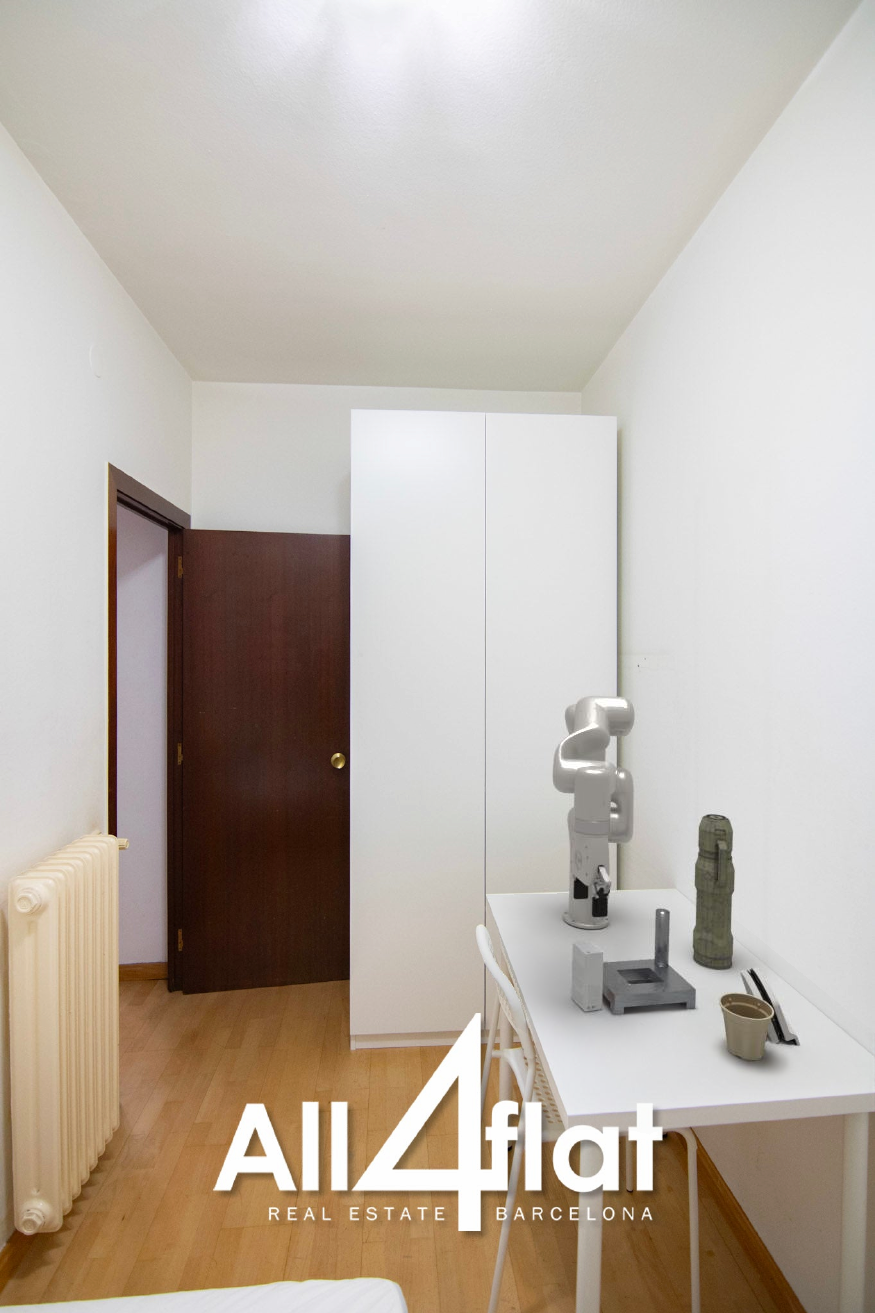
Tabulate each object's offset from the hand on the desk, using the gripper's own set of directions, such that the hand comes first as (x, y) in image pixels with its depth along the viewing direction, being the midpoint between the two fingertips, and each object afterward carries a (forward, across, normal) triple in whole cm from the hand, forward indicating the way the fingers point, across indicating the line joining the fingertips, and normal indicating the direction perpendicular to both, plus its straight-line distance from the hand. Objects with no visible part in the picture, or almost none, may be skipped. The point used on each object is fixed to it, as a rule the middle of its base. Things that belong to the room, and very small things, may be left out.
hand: (589, 907), depth 140 cm
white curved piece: (+21, +11, +34) cm, 41 cm away
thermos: (+20, -14, +38) cm, 45 cm away
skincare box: (+21, 0, 0) cm, 21 cm away
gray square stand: (+20, -2, +13) cm, 24 cm away
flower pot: (+21, +20, +23) cm, 37 cm away
